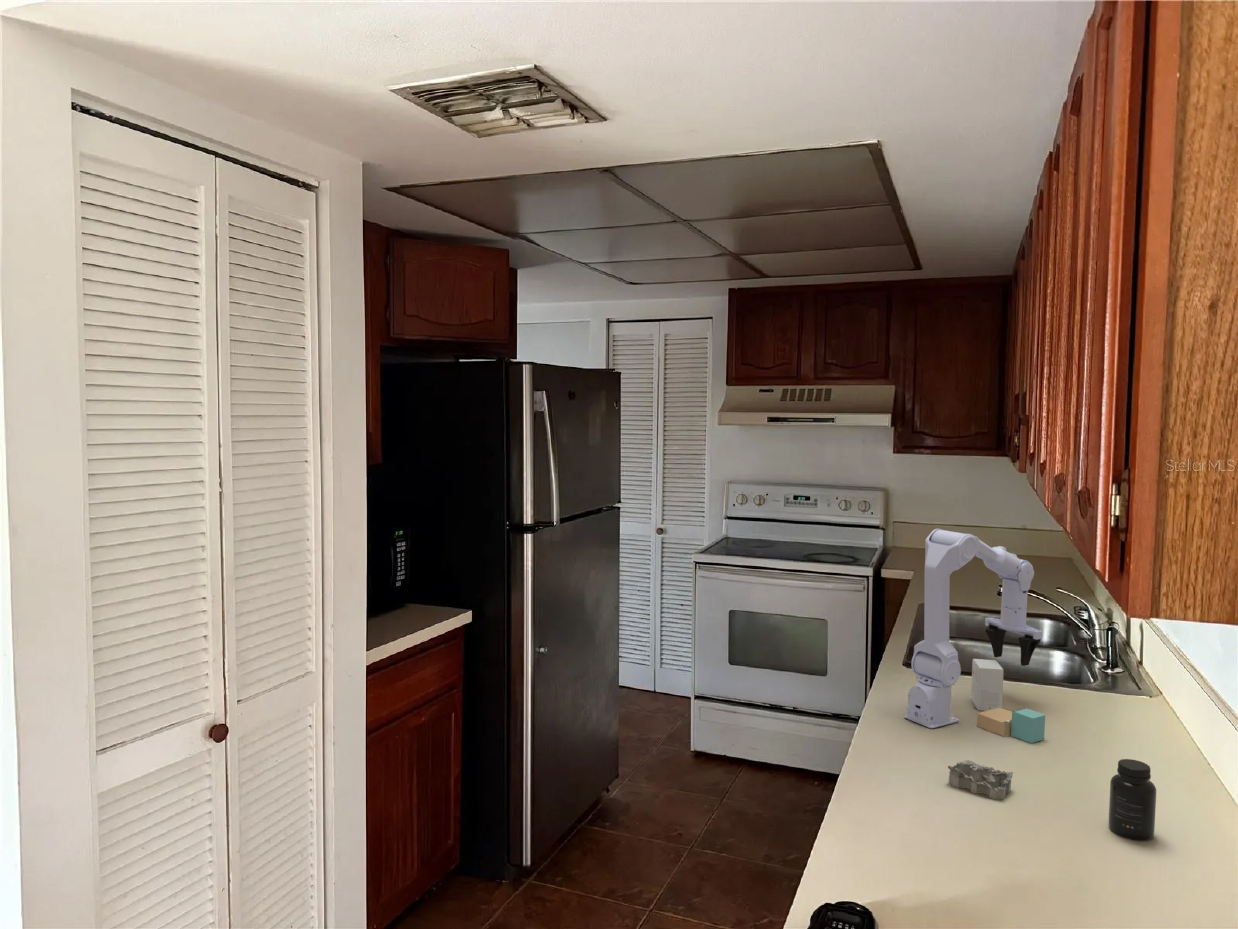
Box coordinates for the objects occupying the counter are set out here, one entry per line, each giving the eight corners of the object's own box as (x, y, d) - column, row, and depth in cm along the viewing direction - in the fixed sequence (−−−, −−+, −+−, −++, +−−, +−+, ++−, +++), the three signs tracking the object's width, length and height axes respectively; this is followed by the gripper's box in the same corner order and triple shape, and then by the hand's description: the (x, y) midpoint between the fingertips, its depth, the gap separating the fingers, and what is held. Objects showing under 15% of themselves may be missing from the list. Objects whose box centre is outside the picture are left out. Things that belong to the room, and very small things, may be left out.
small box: (1002, 712, 204) (1004, 669, 203) (977, 710, 205) (979, 667, 204) (994, 701, 212) (996, 659, 211) (970, 699, 213) (972, 658, 212)
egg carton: (943, 786, 165) (944, 765, 165) (959, 773, 170) (960, 753, 170) (1000, 804, 158) (1001, 782, 157) (1015, 790, 163) (1016, 770, 163)
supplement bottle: (1111, 818, 152) (1115, 752, 151) (1156, 831, 148) (1161, 763, 147) (1104, 832, 147) (1108, 765, 146) (1150, 846, 143) (1155, 776, 142)
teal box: (1031, 743, 185) (1033, 718, 185) (1010, 735, 190) (1012, 710, 189) (1044, 739, 188) (1045, 714, 187) (1023, 731, 192) (1024, 707, 191)
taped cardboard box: (1004, 736, 189) (1004, 722, 189) (976, 726, 195) (977, 712, 195) (1026, 730, 193) (1027, 716, 193) (998, 720, 199) (999, 706, 199)
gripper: (1051, 611, 206) (1048, 666, 207) (999, 599, 219) (996, 651, 220) (1032, 614, 203) (1029, 670, 204) (980, 601, 216) (978, 654, 217)
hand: (1011, 660), depth 212 cm, fingers open, 7 cm apart
